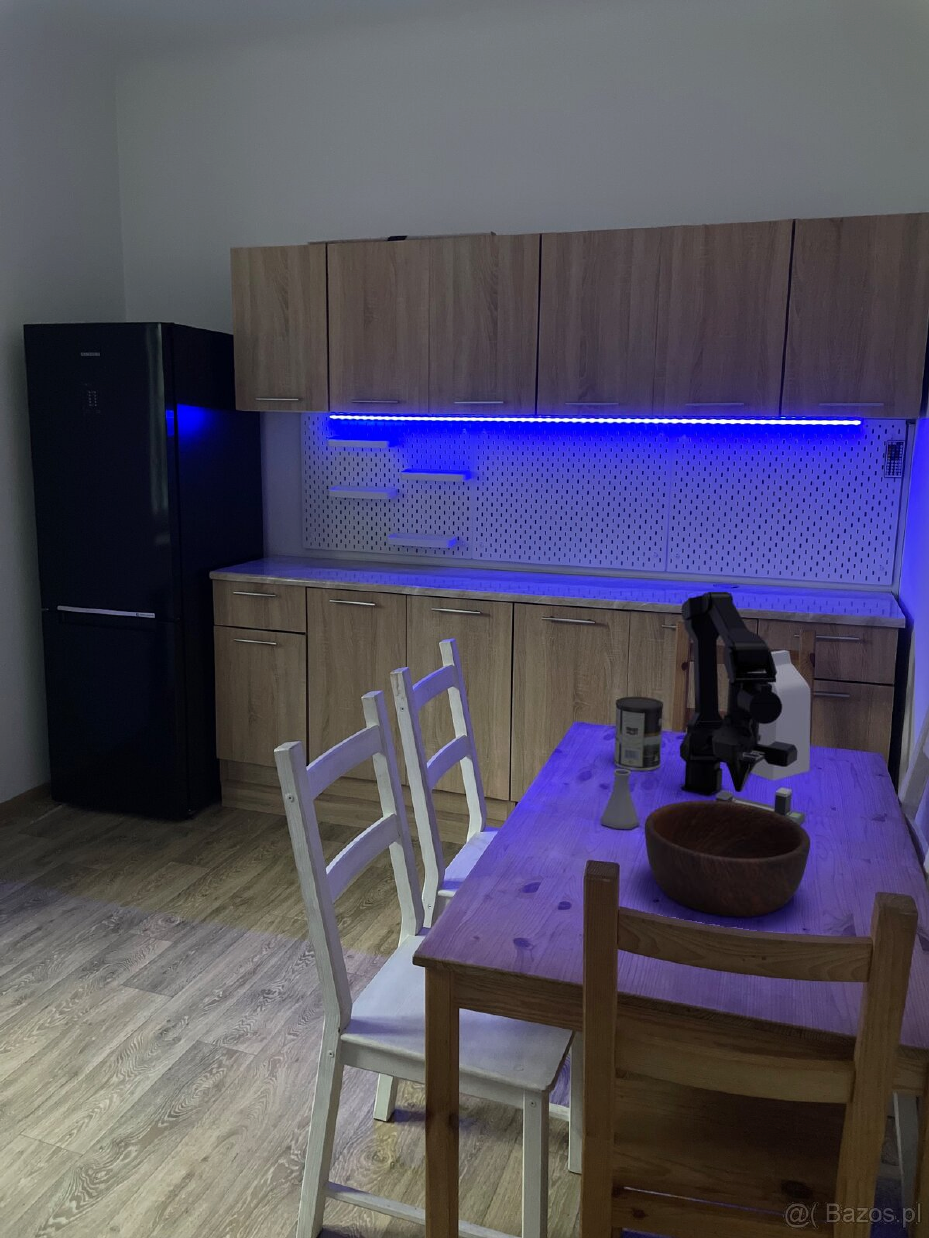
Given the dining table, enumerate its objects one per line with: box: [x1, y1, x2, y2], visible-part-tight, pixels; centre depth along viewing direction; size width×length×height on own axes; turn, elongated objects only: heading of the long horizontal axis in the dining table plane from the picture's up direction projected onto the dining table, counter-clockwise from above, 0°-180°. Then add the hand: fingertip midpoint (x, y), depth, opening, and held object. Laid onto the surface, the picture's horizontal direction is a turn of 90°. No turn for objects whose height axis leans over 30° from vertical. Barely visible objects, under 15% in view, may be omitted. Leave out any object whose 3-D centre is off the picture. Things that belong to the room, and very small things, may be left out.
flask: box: [600, 768, 640, 830], centre depth 179 cm, size 7×7×10 cm
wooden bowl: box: [644, 799, 811, 918], centre depth 152 cm, size 25×25×10 cm
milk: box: [743, 649, 811, 781], centre depth 209 cm, size 12×12×26 cm
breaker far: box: [774, 787, 793, 815], centre depth 181 cm, size 2×3×4 cm, turn 142°
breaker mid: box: [715, 789, 734, 802], centre depth 179 cm, size 2×3×4 cm, turn 142°
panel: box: [732, 795, 806, 826], centre depth 177 cm, size 15×22×2 cm
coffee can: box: [613, 696, 664, 772], centre depth 212 cm, size 10×10×14 cm
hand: (738, 791), depth 177 cm, fingers closed
